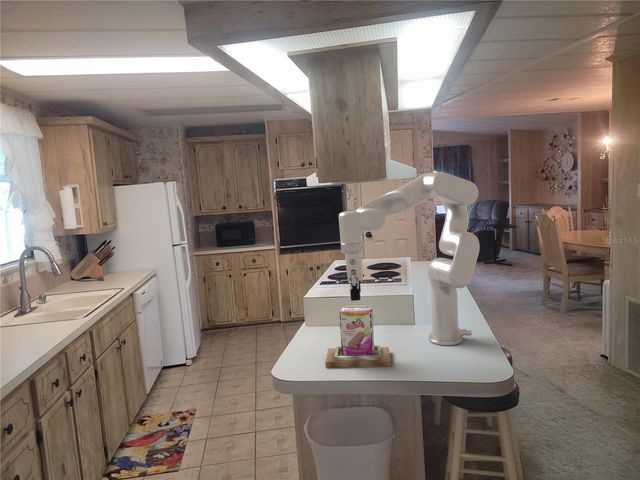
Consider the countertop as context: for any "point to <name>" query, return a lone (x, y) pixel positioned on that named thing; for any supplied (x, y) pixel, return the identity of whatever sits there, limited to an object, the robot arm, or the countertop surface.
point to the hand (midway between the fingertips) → (356, 296)
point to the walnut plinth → (358, 358)
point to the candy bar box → (357, 331)
